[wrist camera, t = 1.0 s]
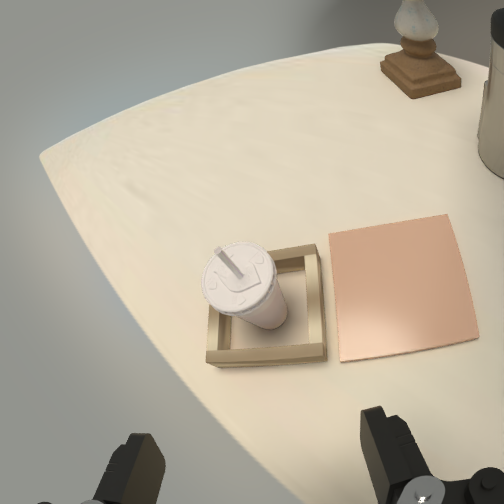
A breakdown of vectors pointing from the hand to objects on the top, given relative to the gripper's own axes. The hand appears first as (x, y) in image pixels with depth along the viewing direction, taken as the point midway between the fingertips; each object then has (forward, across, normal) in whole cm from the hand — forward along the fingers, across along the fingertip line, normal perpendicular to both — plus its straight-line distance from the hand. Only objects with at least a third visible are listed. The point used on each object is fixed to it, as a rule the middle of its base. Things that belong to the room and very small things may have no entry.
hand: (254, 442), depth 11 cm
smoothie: (+23, 0, +6) cm, 24 cm away
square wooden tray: (+23, 0, +6) cm, 24 cm away
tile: (+20, -14, +4) cm, 25 cm away
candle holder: (+43, -33, -21) cm, 58 cm away
